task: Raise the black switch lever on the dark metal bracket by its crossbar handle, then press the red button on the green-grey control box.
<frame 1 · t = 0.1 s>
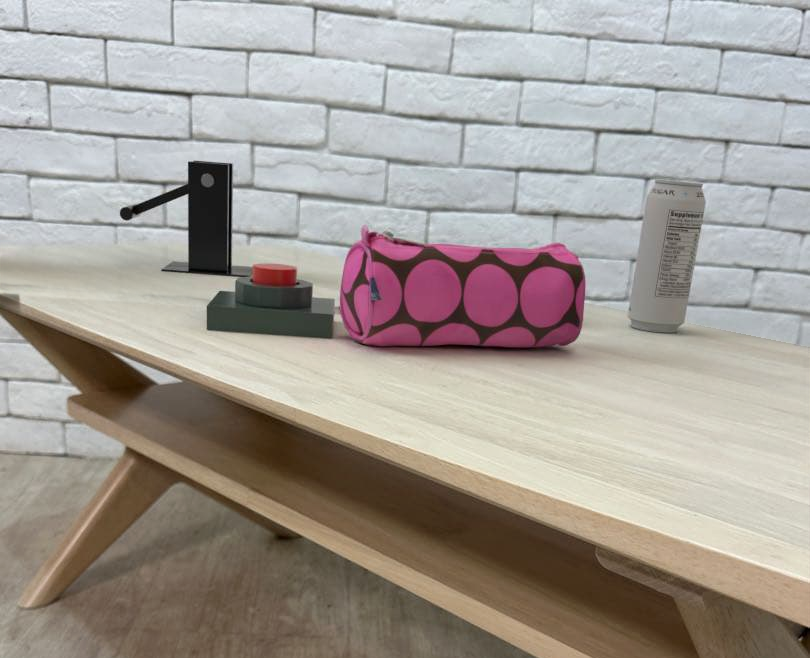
energy drink can: (653, 330, 108), on the table
control box: (273, 326, 92), on the table
switch lever: (173, 194, 113), point 9 cm above the table, hinge at -25.0°
switch bracket: (210, 278, 117), on the table
start button: (274, 276, 90), point 4 cm above the table, slide at 0.1 cm
pencil case: (460, 348, 90), on the table
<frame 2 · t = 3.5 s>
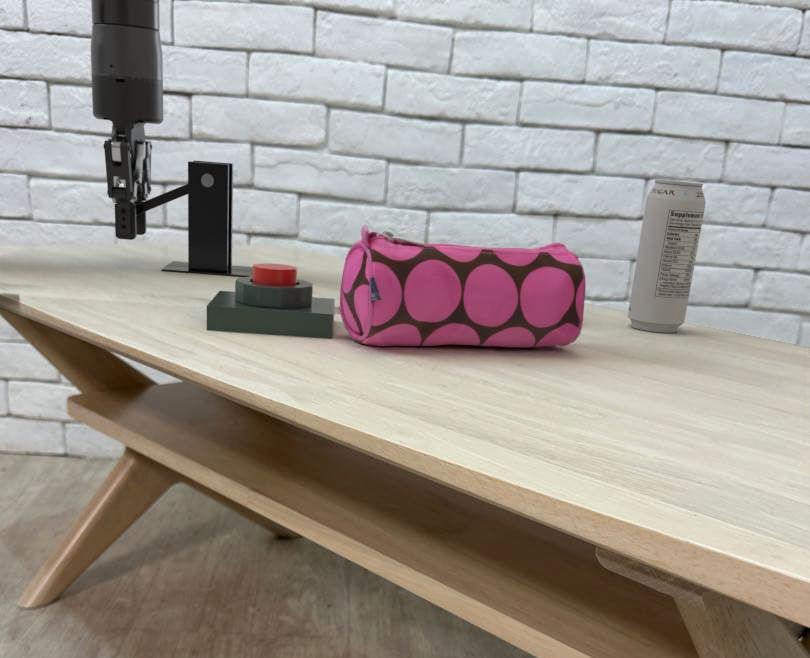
hand: (131, 235, 115), 4 cm above the table, tool pointing down, fingers closed on switch lever, 5 cm apart
switch lever: (173, 194, 113), point 9 cm above the table, hinge at -25.0°, touching gripper
everything else where it was.
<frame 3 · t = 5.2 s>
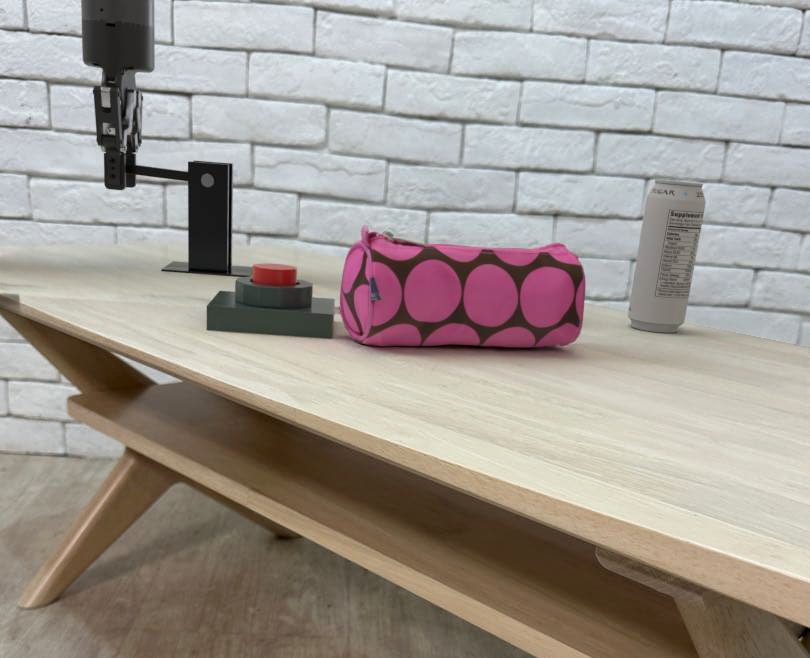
hand: (120, 187, 113), 9 cm above the table, tool pointing down, fingers closed on switch lever, 5 cm apart
switch lever: (169, 174, 112), point 11 cm above the table, hinge at 2.7°, touching gripper
everything else where it was.
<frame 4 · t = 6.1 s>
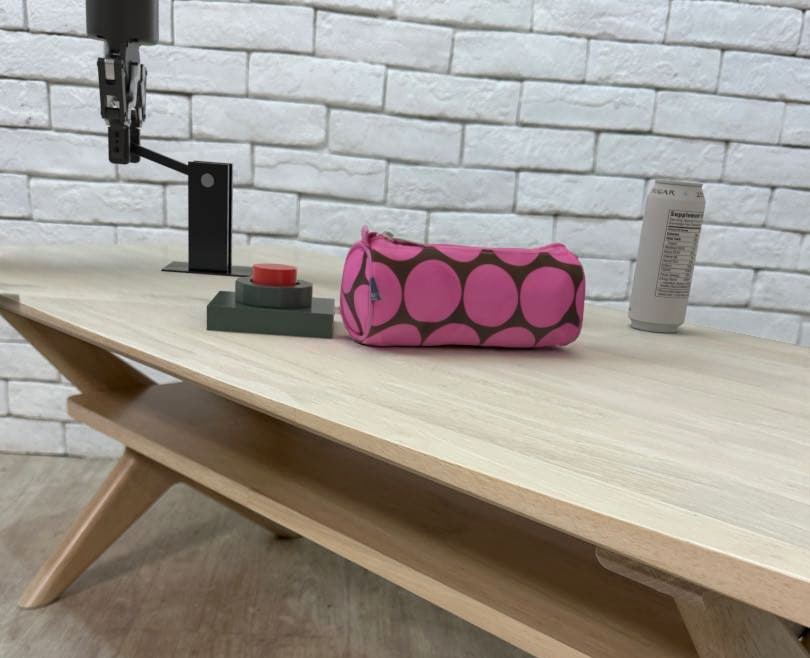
hand: (125, 162, 112), 12 cm above the table, tool pointing down, fingers closed on switch lever, 5 cm apart
switch lever: (171, 163, 112), point 12 cm above the table, hinge at 17.1°, touching gripper
everything else where it was.
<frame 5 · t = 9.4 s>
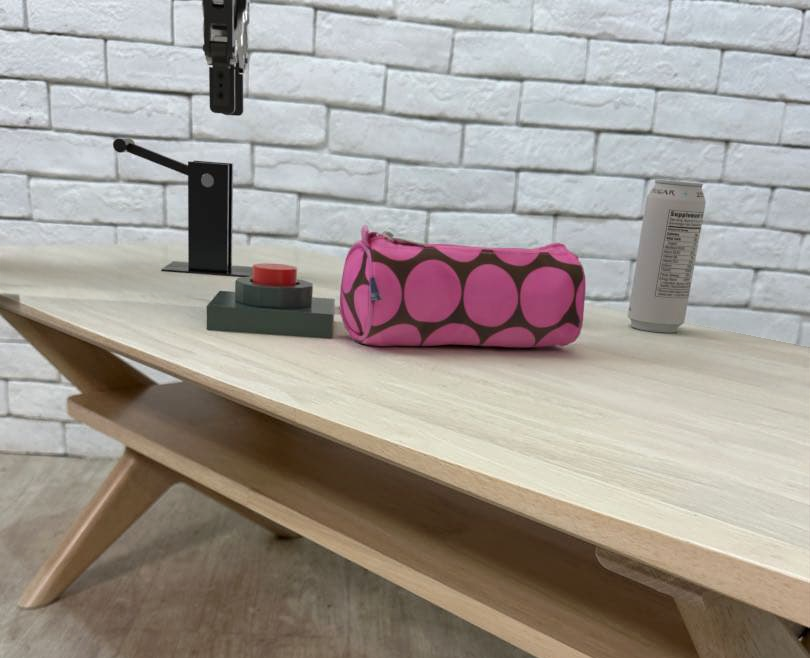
hand: (227, 114, 93), 18 cm above the table, tool pointing down, fingers open, 8 cm apart
switch lever: (170, 163, 112), point 12 cm above the table, hinge at 16.7°
everything else where it was.
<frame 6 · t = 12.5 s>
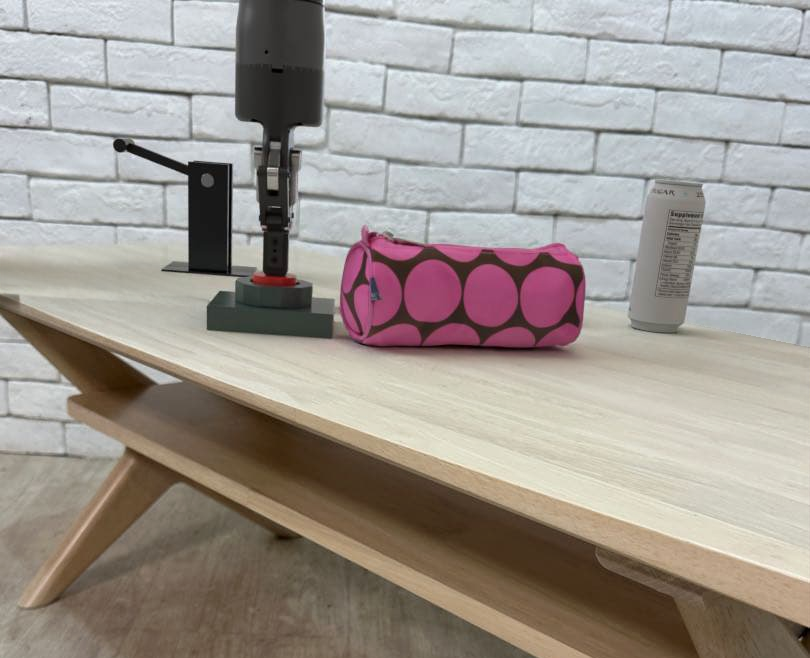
hand: (275, 274, 90), 5 cm above the table, tool pointing down, fingers closed
start button: (274, 284, 90), point 4 cm above the table, slide at -0.6 cm, touching gripper
everything else where it was.
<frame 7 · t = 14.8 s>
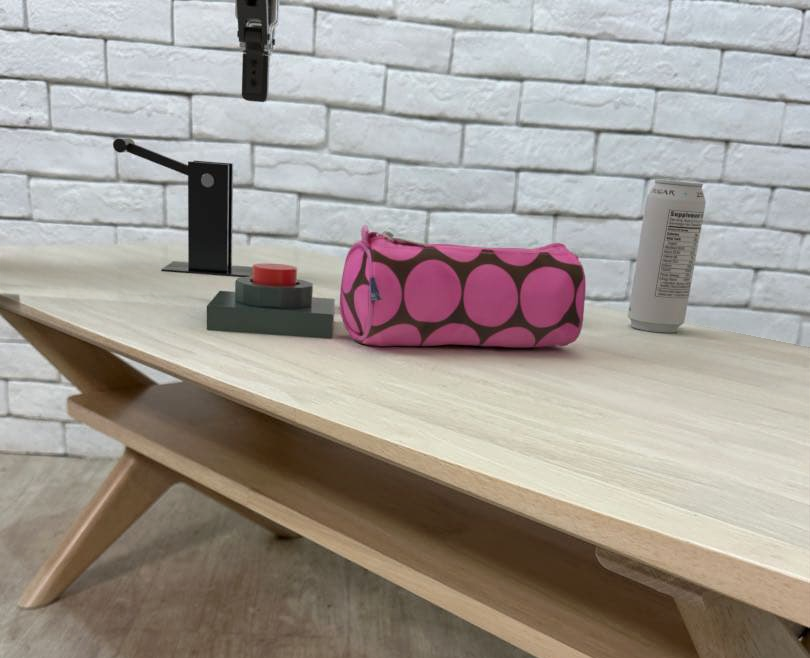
hand: (254, 101, 88), 19 cm above the table, tool pointing down, fingers closed
start button: (274, 276, 90), point 4 cm above the table, slide at 0.1 cm
everything else where it was.
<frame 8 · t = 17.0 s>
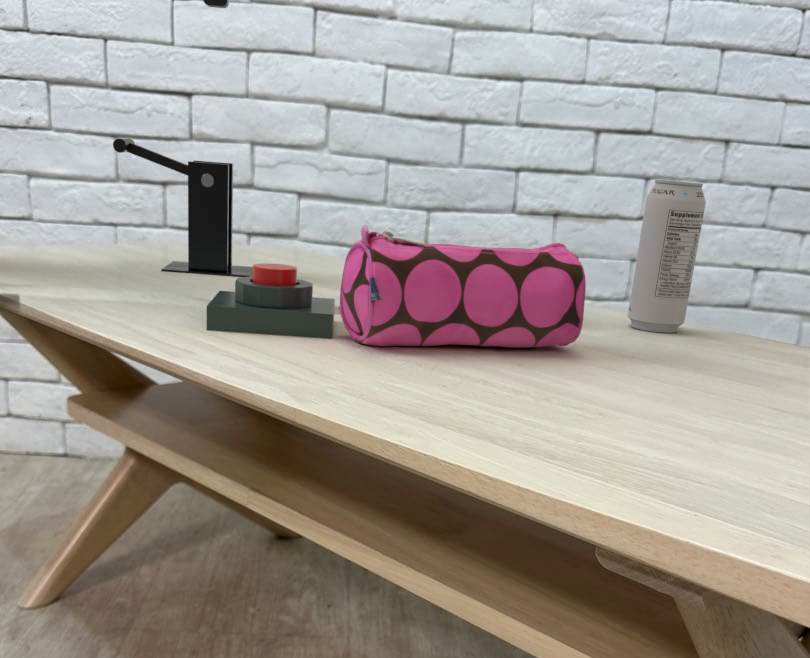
hand: (216, 6, 93), 27 cm above the table, tool pointing down, fingers closed
nothing on the table moved.
at the end: switch lever at +17° (first picture: -25°); start button pushed in 1.1 cm at the most during the clip, back to where it started at the end; start button slide at 0.1 cm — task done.
